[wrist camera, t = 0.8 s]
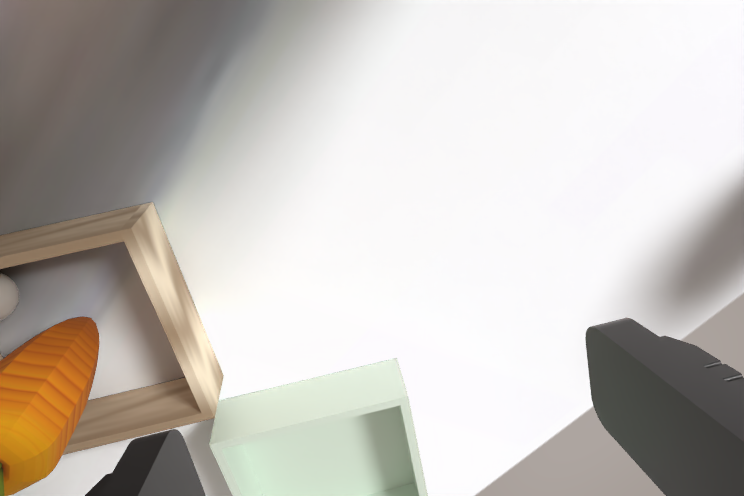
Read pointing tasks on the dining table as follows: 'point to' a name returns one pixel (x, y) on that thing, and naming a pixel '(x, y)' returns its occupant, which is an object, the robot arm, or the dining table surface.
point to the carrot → (44, 399)
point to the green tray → (322, 437)
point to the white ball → (7, 296)
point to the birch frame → (173, 308)
